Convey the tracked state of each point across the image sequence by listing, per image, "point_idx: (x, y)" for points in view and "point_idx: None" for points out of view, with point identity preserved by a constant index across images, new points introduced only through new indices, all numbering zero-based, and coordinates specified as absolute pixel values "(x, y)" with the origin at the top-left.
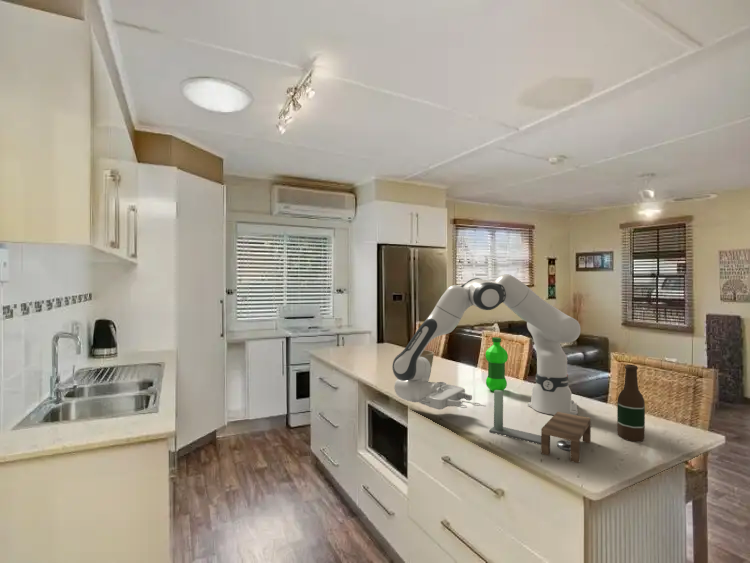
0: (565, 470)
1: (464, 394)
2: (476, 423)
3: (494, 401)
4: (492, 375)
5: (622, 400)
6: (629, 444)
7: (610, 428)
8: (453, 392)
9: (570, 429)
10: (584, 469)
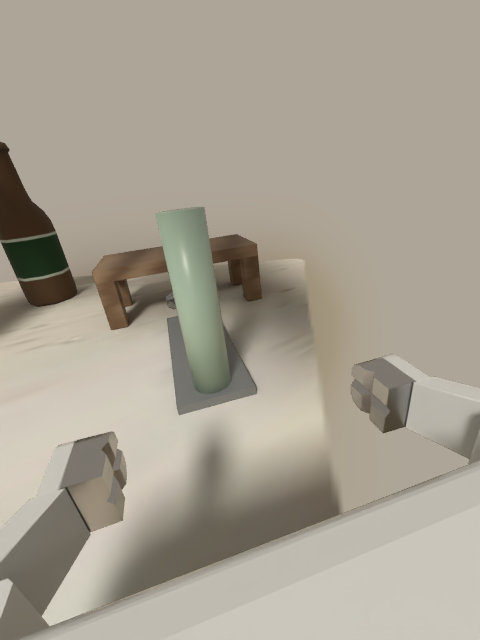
0: (283, 275)
1: (13, 570)
2: (205, 497)
3: (209, 266)
4: None
5: (39, 223)
6: (95, 290)
7: (4, 319)
8: (255, 618)
9: (210, 241)
10: None
